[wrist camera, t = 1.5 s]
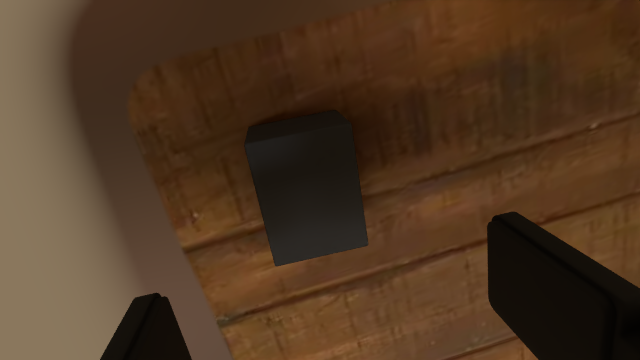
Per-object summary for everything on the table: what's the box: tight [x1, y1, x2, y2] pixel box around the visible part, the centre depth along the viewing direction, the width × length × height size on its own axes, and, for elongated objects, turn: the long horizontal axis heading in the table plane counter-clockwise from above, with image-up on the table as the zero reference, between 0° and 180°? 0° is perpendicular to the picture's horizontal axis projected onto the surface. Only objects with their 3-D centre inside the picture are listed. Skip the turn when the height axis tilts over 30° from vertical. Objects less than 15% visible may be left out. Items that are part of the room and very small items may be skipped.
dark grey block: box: [244, 110, 368, 266], centre depth 17 cm, size 6×4×4 cm
